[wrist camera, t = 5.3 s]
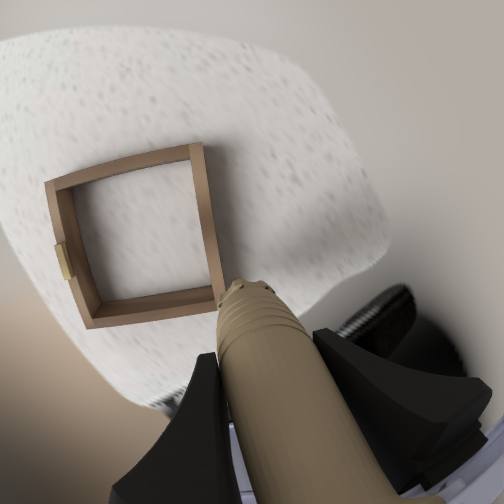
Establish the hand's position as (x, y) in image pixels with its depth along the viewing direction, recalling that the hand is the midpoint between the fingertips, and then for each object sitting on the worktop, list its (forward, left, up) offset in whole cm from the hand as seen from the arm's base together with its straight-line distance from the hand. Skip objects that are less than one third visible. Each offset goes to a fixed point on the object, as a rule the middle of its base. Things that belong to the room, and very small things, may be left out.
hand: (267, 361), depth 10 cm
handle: (0, 0, -6) cm, 6 cm away
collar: (+4, +6, -10) cm, 13 cm away
